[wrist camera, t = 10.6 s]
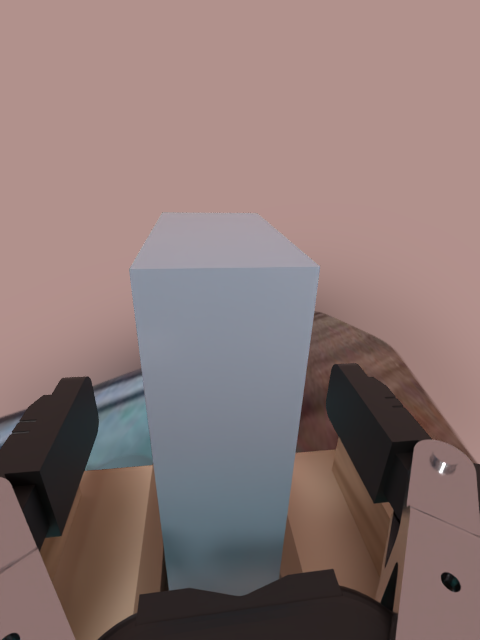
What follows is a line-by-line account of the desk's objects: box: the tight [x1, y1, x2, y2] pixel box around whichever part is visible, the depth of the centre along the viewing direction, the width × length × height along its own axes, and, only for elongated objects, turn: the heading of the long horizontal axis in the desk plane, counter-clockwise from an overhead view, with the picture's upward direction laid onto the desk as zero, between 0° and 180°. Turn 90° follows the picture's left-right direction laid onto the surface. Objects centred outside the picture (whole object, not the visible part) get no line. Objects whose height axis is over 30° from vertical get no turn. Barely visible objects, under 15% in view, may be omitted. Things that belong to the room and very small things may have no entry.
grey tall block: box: [129, 213, 320, 596], centre depth 11 cm, size 3×6×15 cm, turn 7°
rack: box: [40, 437, 393, 640], centre depth 14 cm, size 18×13×4 cm
